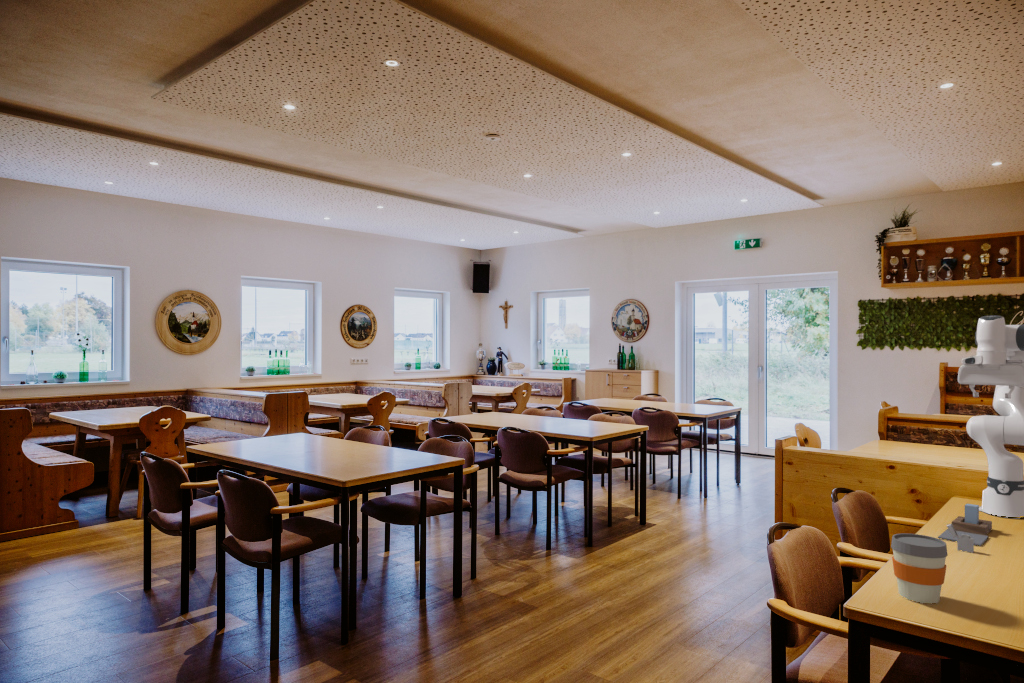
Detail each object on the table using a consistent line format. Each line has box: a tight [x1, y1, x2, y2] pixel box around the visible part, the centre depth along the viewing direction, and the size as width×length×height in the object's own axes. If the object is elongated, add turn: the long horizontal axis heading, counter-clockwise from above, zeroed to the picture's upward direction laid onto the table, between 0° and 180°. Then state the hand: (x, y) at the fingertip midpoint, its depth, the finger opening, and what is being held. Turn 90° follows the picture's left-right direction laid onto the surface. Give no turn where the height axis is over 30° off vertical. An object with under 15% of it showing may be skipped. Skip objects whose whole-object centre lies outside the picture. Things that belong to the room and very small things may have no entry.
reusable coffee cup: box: [890, 533, 948, 605], centre depth 167 cm, size 12×13×15 cm
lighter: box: [946, 523, 975, 554], centre depth 207 cm, size 7×2×8 cm, turn 45°
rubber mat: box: [937, 528, 989, 547], centre depth 220 cm, size 14×12×1 cm
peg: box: [964, 503, 980, 525], centre depth 231 cm, size 4×4×9 cm
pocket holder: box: [951, 515, 993, 536], centre depth 231 cm, size 12×10×3 cm
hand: (991, 397), depth 232 cm, fingers open, 8 cm apart
